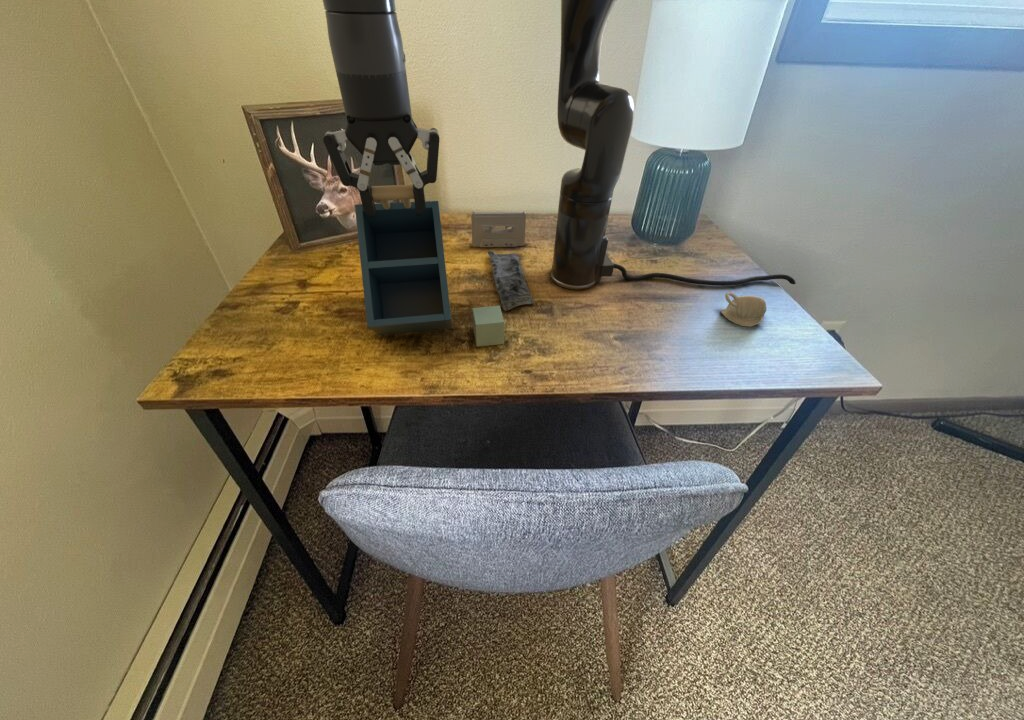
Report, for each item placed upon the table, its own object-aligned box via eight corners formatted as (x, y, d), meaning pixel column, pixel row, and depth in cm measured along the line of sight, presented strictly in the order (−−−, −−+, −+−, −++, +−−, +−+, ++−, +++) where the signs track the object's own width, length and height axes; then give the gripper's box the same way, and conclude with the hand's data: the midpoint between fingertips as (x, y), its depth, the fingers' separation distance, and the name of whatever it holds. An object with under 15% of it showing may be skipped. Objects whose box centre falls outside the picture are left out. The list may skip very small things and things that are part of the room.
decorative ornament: (764, 329, 72) (779, 304, 68) (715, 322, 73) (727, 297, 69) (759, 316, 75) (772, 291, 71) (712, 309, 76) (723, 285, 72)
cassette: (472, 247, 91) (470, 214, 86) (472, 244, 93) (470, 211, 87) (524, 247, 92) (526, 214, 87) (524, 243, 94) (525, 210, 88)
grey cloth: (535, 309, 74) (536, 300, 73) (499, 312, 74) (499, 302, 72) (518, 256, 90) (518, 247, 88) (487, 257, 89) (487, 248, 87)
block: (499, 327, 70) (499, 305, 67) (504, 344, 67) (504, 322, 64) (473, 329, 70) (472, 307, 67) (476, 346, 66) (475, 324, 63)
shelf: (368, 227, 68) (345, 184, 53) (439, 223, 70) (436, 181, 55) (379, 335, 68) (359, 322, 53) (451, 328, 69) (451, 313, 55)
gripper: (294, 71, 41) (339, 229, 52) (438, 71, 43) (450, 223, 55) (307, 59, 46) (345, 205, 58) (434, 60, 48) (446, 200, 60)
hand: (396, 213), depth 56 cm, fingers closed on shelf, 5 cm apart
